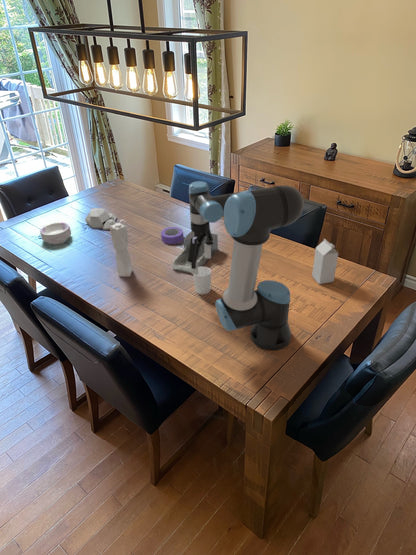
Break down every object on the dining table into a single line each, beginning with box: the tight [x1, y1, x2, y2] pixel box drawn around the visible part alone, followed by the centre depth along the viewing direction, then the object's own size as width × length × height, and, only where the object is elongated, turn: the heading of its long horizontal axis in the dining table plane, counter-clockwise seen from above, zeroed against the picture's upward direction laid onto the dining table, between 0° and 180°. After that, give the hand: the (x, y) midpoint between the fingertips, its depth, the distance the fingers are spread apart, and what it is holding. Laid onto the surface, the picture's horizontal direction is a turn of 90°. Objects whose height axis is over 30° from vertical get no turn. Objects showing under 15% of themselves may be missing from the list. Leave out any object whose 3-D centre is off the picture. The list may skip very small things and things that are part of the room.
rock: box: [84, 207, 117, 231], centre depth 238 cm, size 18×20×10 cm
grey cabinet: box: [171, 230, 219, 275], centre depth 203 cm, size 26×14×11 cm, turn 157°
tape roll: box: [160, 226, 185, 245], centre depth 223 cm, size 12×12×5 cm
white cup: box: [192, 265, 212, 295], centre depth 182 cm, size 8×8×10 cm
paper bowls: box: [39, 221, 72, 245], centre depth 224 cm, size 15×15×8 cm
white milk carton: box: [311, 238, 339, 285], centre depth 184 cm, size 7×7×19 cm
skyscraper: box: [110, 219, 133, 277], centre depth 190 cm, size 8×8×28 cm
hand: (201, 265), depth 178 cm, fingers open, 13 cm apart
